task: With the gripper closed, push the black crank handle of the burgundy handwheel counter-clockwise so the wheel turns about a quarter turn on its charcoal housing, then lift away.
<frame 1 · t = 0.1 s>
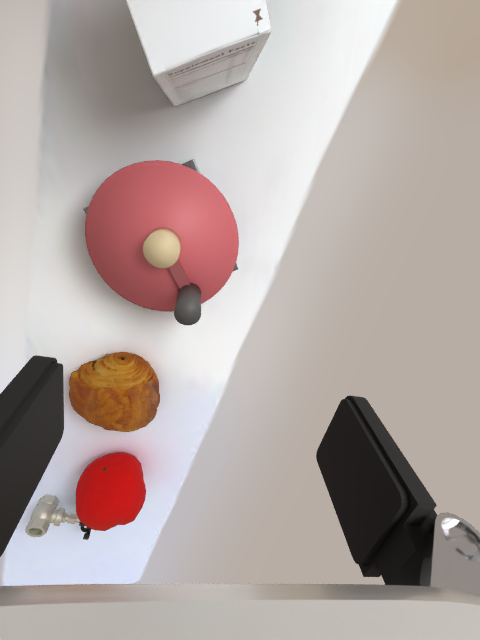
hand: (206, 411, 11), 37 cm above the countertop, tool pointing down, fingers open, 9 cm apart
valve: (69, 501, 68), on the countertop
handwheel: (161, 249, 36), point 9 cm above the countertop, hinge at 0.0°
tomato: (119, 465, 64), on the countertop
croissant: (120, 383, 55), on the countertop
supplement box: (196, 46, 35), on the countertop
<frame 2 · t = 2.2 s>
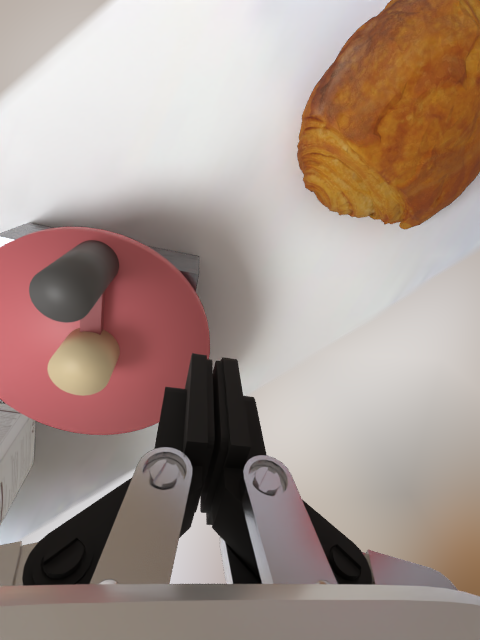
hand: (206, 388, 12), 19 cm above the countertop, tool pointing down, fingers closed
handwheel: (82, 367, 22), point 9 cm above the countertop, hinge at 0.0°
housing: (113, 312, 30), on the countertop
croissant: (383, 132, 26), on the countertop
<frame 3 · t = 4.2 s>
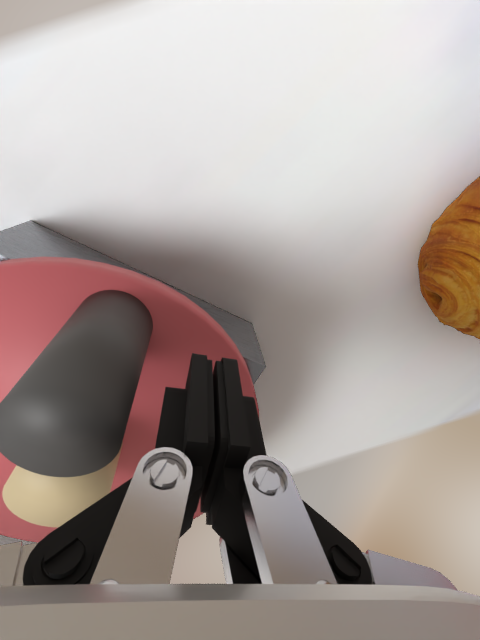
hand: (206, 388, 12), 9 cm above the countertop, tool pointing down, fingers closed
handwheel: (62, 485, 14), point 9 cm above the countertop, hinge at 6.5°, touching gripper
housing: (112, 364, 22), on the countertop
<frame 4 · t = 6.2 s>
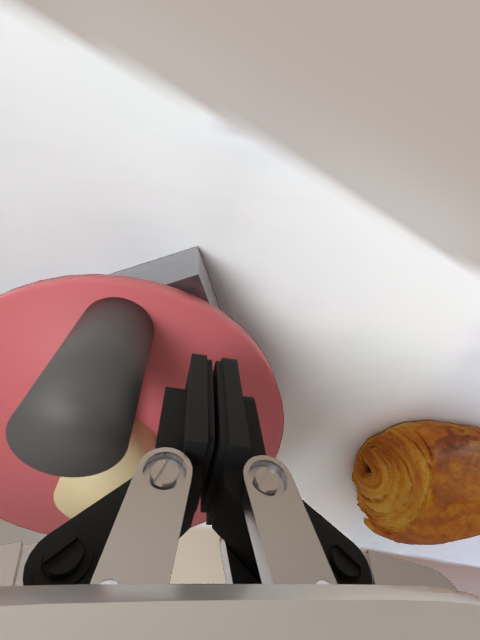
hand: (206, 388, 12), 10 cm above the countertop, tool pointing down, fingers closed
handwheel: (106, 485, 15), point 9 cm above the countertop, hinge at 63.8°, touching gripper
housing: (137, 369, 22), on the countertop
croissant: (412, 458, 32), on the countertop
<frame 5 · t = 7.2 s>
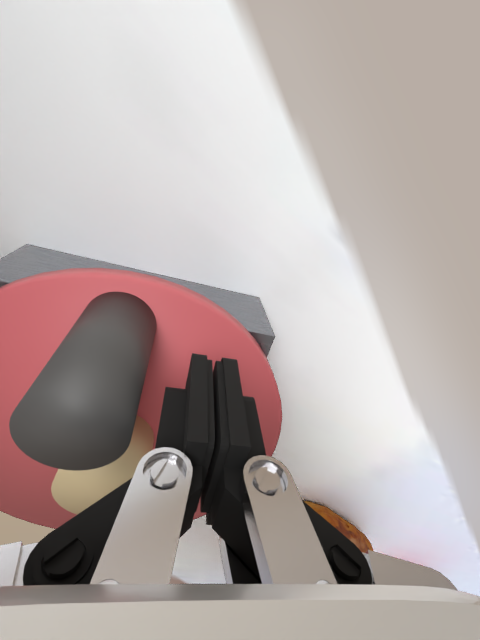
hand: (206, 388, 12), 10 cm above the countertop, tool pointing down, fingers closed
handwheel: (103, 479, 15), point 9 cm above the countertop, hinge at 94.5°, touching gripper
housing: (136, 363, 22), on the countertop
croissant: (293, 531, 36), on the countertop
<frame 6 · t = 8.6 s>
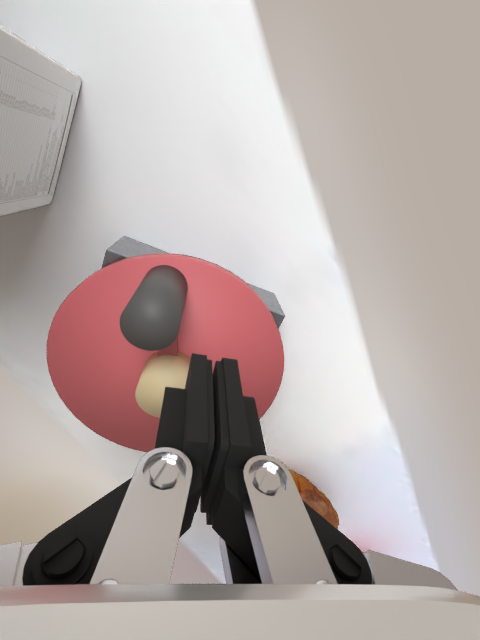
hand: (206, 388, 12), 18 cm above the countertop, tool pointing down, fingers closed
handwheel: (166, 390, 22), point 9 cm above the countertop, hinge at 110.3°
housing: (178, 331, 31), on the countertop
croissant: (274, 499, 43), on the countertop
supplement box: (1, 114, 22), on the countertop
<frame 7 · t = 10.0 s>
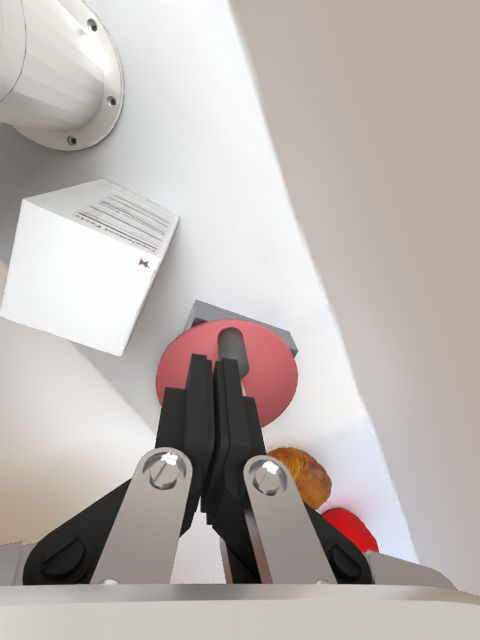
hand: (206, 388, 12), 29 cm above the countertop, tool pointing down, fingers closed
handwheel: (229, 398, 38), point 9 cm above the countertop, hinge at 110.3°
housing: (225, 356, 46), on the countertop
tomato: (334, 518, 68), on the countertop
croissant: (284, 471, 60), on the countertop
supplement box: (129, 234, 37), on the countertop
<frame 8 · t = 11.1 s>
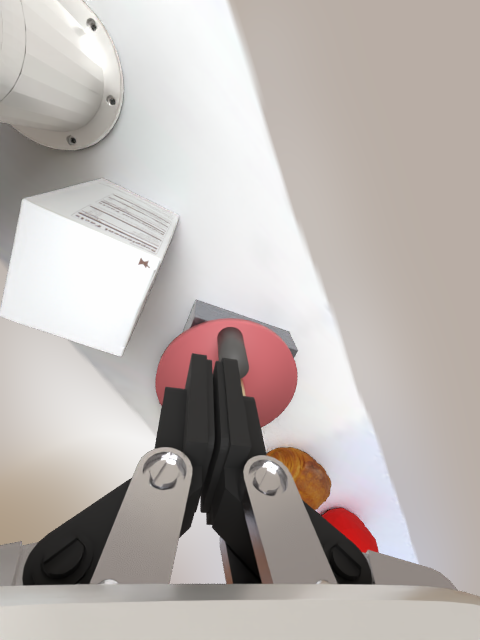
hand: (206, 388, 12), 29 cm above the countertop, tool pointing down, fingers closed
handwheel: (229, 398, 38), point 9 cm above the countertop, hinge at 110.3°
housing: (225, 356, 46), on the countertop
tomato: (333, 517, 68), on the countertop
croissant: (284, 470, 60), on the countertop
supplement box: (129, 234, 37), on the countertop
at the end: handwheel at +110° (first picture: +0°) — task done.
